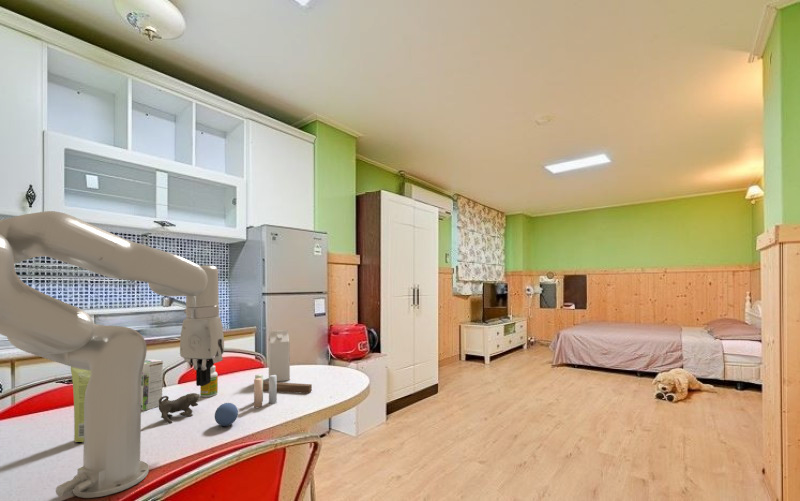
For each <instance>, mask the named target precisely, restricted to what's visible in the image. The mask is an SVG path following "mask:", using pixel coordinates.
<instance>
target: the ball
mask: <svg viewBox="0 0 800 501" xmlns="http://www.w3.org/2000/svg"><path fill="white" fill-rule="evenodd" d="M238 416H239V409H238V407H237V406H236V405H235V404H234V403H232V402H224V403H222V404H220V405H219V406H218V407H217V409H216V410H215V412H214V421H215V422H216V423H217V424H218V425H219V426H222V427H228V426H230V425H232V424H233V423H235V422H236V420H237V418H238Z"/></svg>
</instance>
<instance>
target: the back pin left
mask: <svg viewBox="0 0 800 501" xmlns="http://www.w3.org/2000/svg"><path fill="white" fill-rule="evenodd" d="M257 378H262V403H263V402H264V390H263V382H264V374H261V373H259V374H255V376H254V379H257Z"/></svg>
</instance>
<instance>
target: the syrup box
mask: <svg viewBox="0 0 800 501" xmlns="http://www.w3.org/2000/svg"><path fill="white" fill-rule="evenodd" d="M163 364H164V360H160V359H159V360H158V359H152V358H151V359H145V363H144V367H143V372H142V381H141V411H149V410H151V409H152V410H153V409H154V408H157V407H159V399H160V398H161V397H163V380H164V379H163V377H164V376H163V375H164V374H163V373H164V372H163V371H164V370H163V366H164V365H163Z"/></svg>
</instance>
